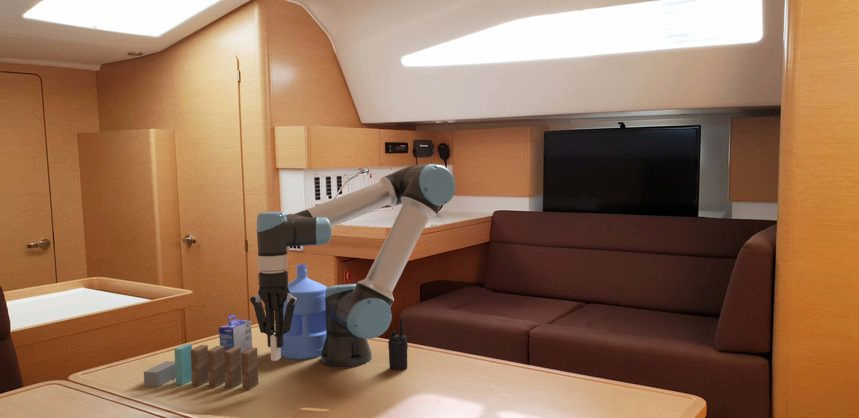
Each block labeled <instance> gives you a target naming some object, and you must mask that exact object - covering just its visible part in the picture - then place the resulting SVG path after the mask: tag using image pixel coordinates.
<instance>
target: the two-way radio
mask: <svg viewBox="0 0 859 418" xmlns="http://www.w3.org/2000/svg"><path fill="white" fill-rule="evenodd" d="M403 321H404V320H403V318H402V317H400V318H399V334H397V332H396V329H395V330H394V329H393V330H392V331H391V335H390V336H389V339H388V363H389V364H388V365H389V369H390V370H391V371H405V370H407V369H408V339H407V336H406V334H404V323H403Z"/></svg>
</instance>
